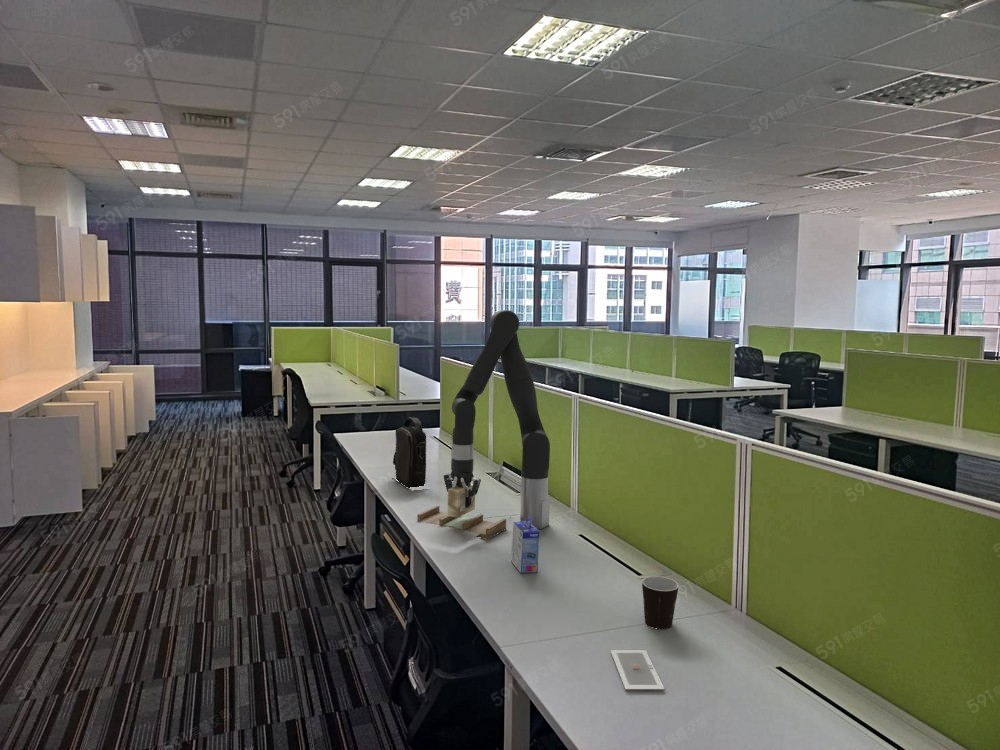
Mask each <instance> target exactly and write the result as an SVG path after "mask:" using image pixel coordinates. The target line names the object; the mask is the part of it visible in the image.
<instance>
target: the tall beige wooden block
mask: <svg viewBox="0 0 1000 750" xmlns="http://www.w3.org/2000/svg"><path fill="white" fill-rule="evenodd" d="M472 483H473V482H471V486H472V487H473V484H472ZM471 490H472V488H471ZM465 497H466V495H465V490H464V488H463V487H462V486H456V487H453V488H450V489H448V492H447V513H448V516H452V517H456V518H458V517H460V516H464V515H465V514H468V513H471V512H472V511H474V510H475V509H476V503H475V502H476V495H474V496H472V500H471V506H470V507H468V508H466V507H465Z"/></svg>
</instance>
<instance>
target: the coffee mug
mask: <svg viewBox="0 0 1000 750" xmlns="http://www.w3.org/2000/svg"><path fill="white" fill-rule="evenodd" d="M641 586H642V587H641V588H642V599H643V600H642V601H643V603H642V604H643V613H644V623H645V624H647V625H646V626H647V627H649V626H650V628H651V627H653V628H652V629H655V628H657V629H656V630H668V629H670V628H672V626H673V620H674V614H675V609H676V603H677V598H678V591H679V583H678V582H677V581H676V580H674V579H672V578H669V577H666V576H660V575H656V576H655V575H652V576H646V577H644V578H643V579H642V580H641ZM667 628H668V629H667Z"/></svg>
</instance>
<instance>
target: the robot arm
mask: <svg viewBox="0 0 1000 750" xmlns="http://www.w3.org/2000/svg"><path fill="white" fill-rule="evenodd" d="M489 327H490V333H489V336H488V338H487V340H486V342H485V345H484V347H483V348H482V351H481V352H480V354H479V355H478V356H477V359H476V360H475V361H474V363H473V365H472V366H471V369H470V370H469V372H468V374H467V376H466V379H465V380H464V383H463V385H462V386H461V388H460V390H459V391H458V393H456V395H455V396H454V397H455V398H454V399H453V401H452V405H451V411H452V413H453V414H454V427H453V428H452V429H453V430H452V439H451V440H452V443H451V452H450V453H451V455H450V457H451V460H450V468H451V471H450V473H446V474H444V475H443V481H444V486H445V485H446V486H445V489H446V492H447V493H448V489H450V488H453V487H456V486H462V487H463V488H464V490H465V495H466V497H465V507H466V508H468V507H470V506H471V500H472V496H474V495H475V496H476V495H477V494H478V492H479V489H480V485H481V482H482V479H481V478H477V477H475V476H474V474H473V472H474V462H475V461H474V455H475V453H474V452H475V451H474V450H475V448H474V427H475V423H476V422H475V421H476V415H477V414H476V413H477V412H476V406H475V403H476V401H477V399H478V398H479V396H480V395H482V394H483V393H484V391H485V389H486V387H487V385H488V383H489V382H490V379H491V376H492V374H493V372H494V370H495V368H496V366H497V364H498V361H500V362H501V367H502V372H503V377H504V381H505V386H506V390H507V393H508V397H509V399H510V401H511V405H512V407H513V410H514V411H515V412H514V413H515V414H516V417H517V419H518V424H519V430H520V437H521V445H522V450H521V451H522V456H521V457H522V459H521V461H522V462H521V476H520V477H521V480H520V516H519V520H520V521H519V522H521V521H526V520H527V519H528V517H529V516H530V517H531V518H532V519H533V522H532V525H533V526H534V527H535V528H536V529H538V530H539V529H540V530H543V529H544V528H545V527H547V526H548V525H550V507H551V506H550V504H551V501H550V500H551V498H550V497H548V496H549V494H548V493H549V470H550V460H551V458H550V457H551V443H550V439H549V437H548V435H547V433H546V431H545V429H544V426H543V423H542V421H541V417H540V414H539V409H538V399H537V391H536V387H535V382H534V379H533V375H532V371H531V369H530V367H529V365H528V363H527V362H528V361H527V360H526V358H525V356H524V354H523V352H522V350H521V346H520V342H519V337H518V331H519V328H520V319H519V316H518V315H517V313H515V311H513V310H509V309H504V310H503V309H502V310H498V311H495V312H494V313H493V314H492V316H491V317H490V320H489ZM451 479H453V481H454V482H453V484H452V480H451ZM471 483H472V484H473V487H472V486H471ZM471 488H472V490H471ZM528 521H529V522H530V520H528Z"/></svg>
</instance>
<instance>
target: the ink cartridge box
mask: <svg viewBox="0 0 1000 750" xmlns="http://www.w3.org/2000/svg"><path fill="white" fill-rule="evenodd" d="M528 520H530V522H529V521H528ZM532 522H533V519H532V518H531V517H530V516H529V517H528V519H527V520H526V521H521V522H520V521H513V523H512V542H511V557H510V558H511V562H512V563H513V565H514V566H515V568H516V569H517V570H518V571H519V573H520V574H524V573H525V574H528V573H529V574H531V573H538V570H539V569H538V568H539V566H538V565H539V551H540V550H539V549H540V548H539V546H540V545H539V544H540V530H539V529H536V528H535V527H534V526H533V525H532Z"/></svg>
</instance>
